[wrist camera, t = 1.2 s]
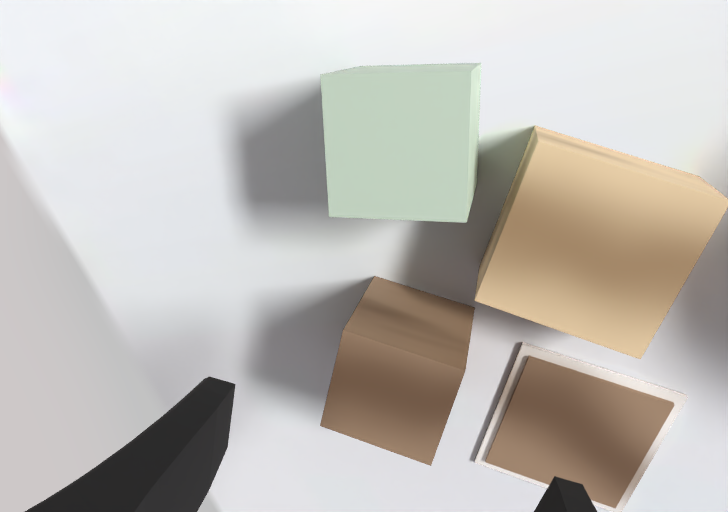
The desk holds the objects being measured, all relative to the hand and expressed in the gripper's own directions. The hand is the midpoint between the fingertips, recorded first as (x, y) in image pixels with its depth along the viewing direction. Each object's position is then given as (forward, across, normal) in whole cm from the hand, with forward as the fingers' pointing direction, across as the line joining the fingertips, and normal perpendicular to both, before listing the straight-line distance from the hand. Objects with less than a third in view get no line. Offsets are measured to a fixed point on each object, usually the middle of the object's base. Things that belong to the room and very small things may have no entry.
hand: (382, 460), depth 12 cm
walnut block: (+12, -1, +5) cm, 13 cm away
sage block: (+13, +1, -4) cm, 14 cm away
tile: (+11, -9, +7) cm, 16 cm away
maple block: (+12, -6, -2) cm, 14 cm away
